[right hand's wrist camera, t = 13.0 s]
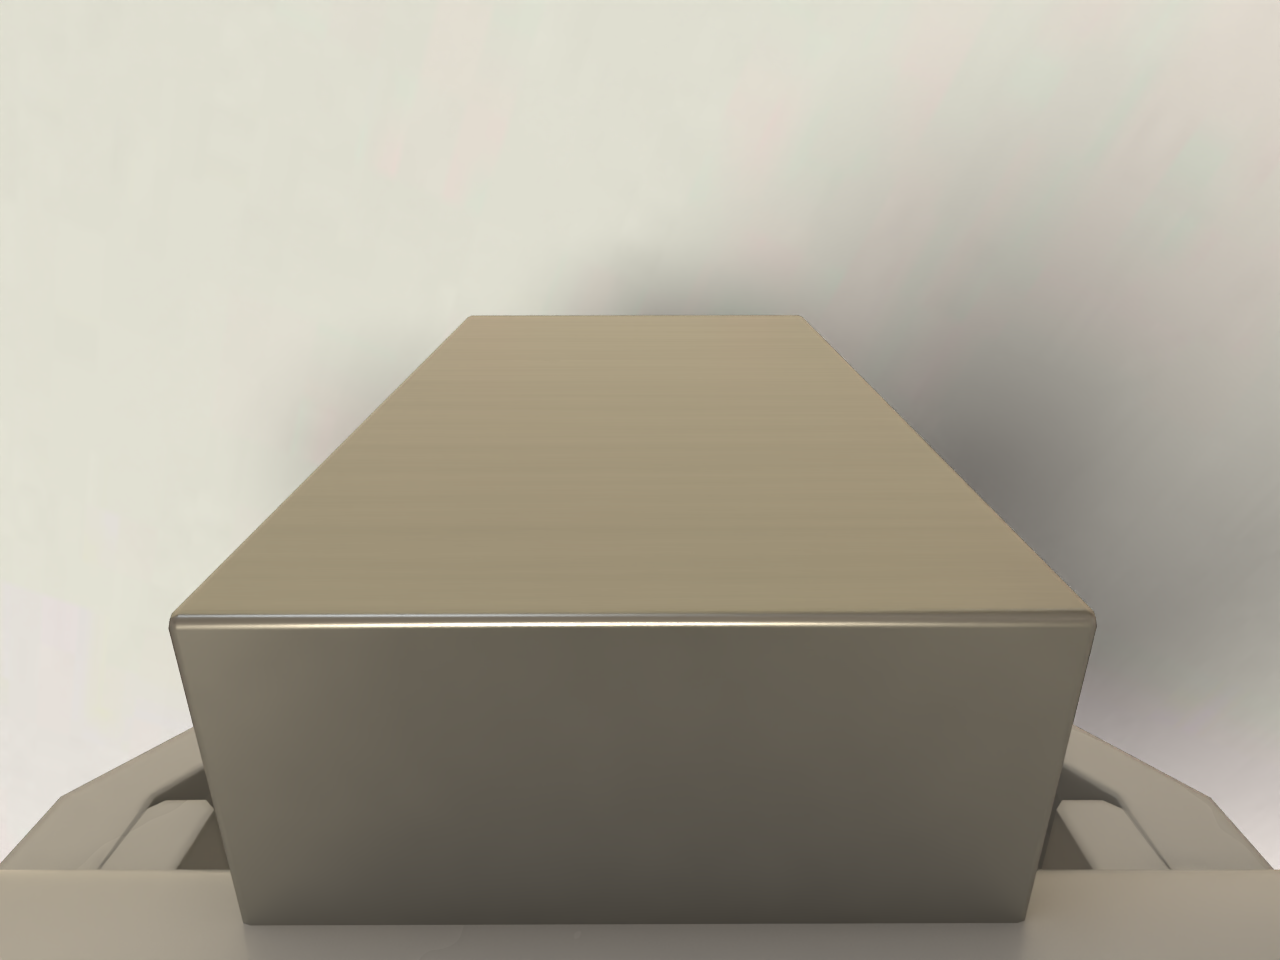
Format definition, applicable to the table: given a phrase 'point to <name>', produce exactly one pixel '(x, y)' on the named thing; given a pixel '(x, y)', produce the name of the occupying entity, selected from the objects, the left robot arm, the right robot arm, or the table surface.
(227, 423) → the table surface
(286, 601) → the bar
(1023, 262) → the table surface
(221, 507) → the table surface
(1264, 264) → the table surface
